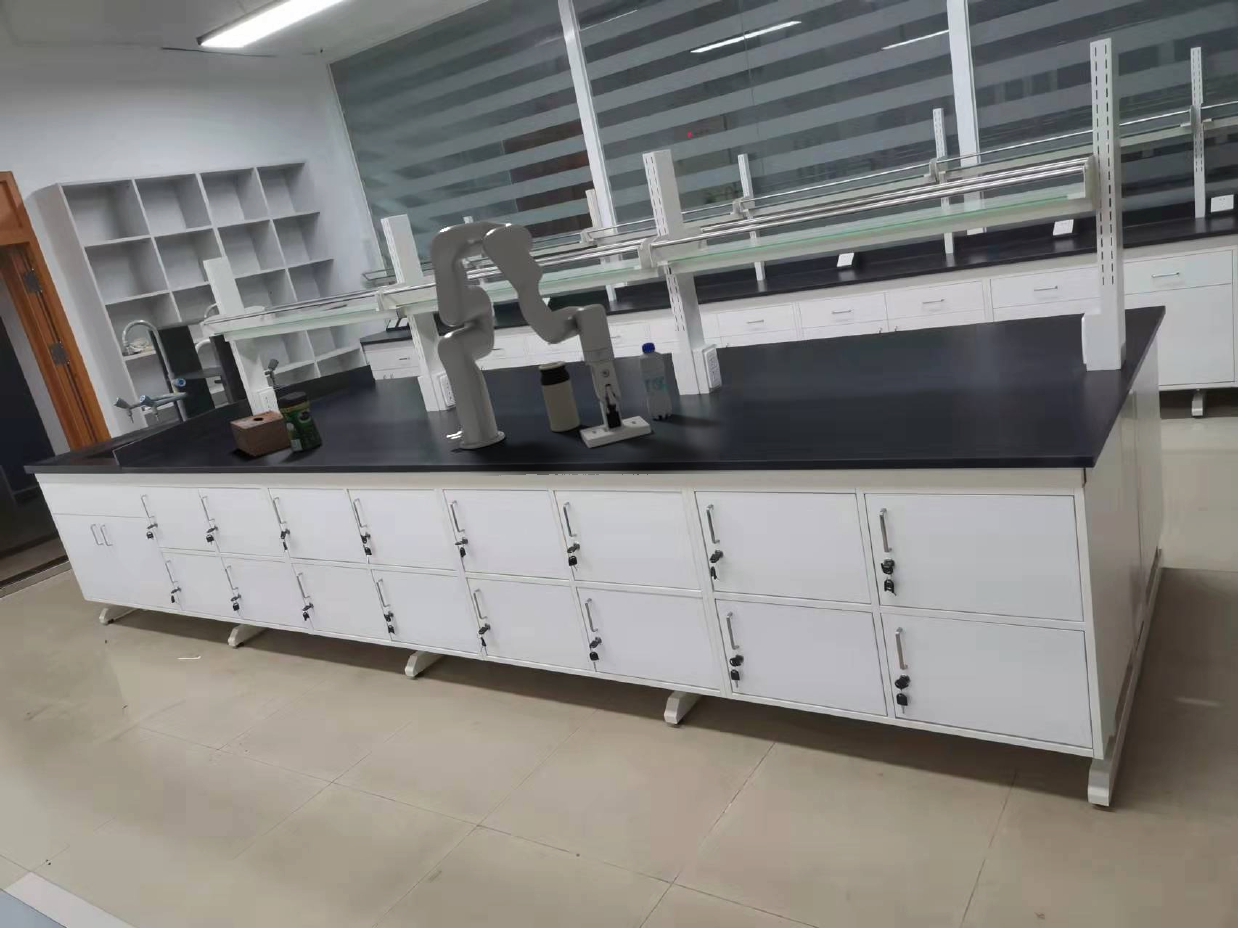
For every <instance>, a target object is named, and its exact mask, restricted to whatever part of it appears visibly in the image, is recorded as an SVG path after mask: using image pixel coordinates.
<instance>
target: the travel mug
mask: <svg viewBox="0 0 1238 928" xmlns="http://www.w3.org/2000/svg"><path fill="white" fill-rule="evenodd" d="M537 369H538V370H539V371H540V377H539V381H540V385H541V389H542V393H543V397H544V403H545V407H546V412H547V415H548V419H549V424H550V428H551V431H552V432H556V433H560V432H568V431H571V430H574V429H576V428H577V427H579V426H580V425H581V423H580V418H579V413H578V408H577V405H576V400H575V396H574V395H575V394H574V391H573V386H572V381H571V377H570V376H571V375H570V373H569V371H568V370H567V369H566V361H565V360H557V361H552V362H547V363H545V364H541V365H540V366H538V368H537Z"/></svg>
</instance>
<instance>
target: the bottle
mask: <svg viewBox="0 0 1238 928" xmlns="http://www.w3.org/2000/svg"><path fill="white" fill-rule="evenodd" d="M641 351H642V354H640V356H638V368H639V369H638V370H639V371H640V372H639V373H640V376H641V377H642V378H641V379H642V381H643V382H642V383H643V387H644V388H643V389H644V392H645V393H644V394H645V398H646V404H647V412H648V414H649V417H650V418H651V419H652V420H659V419H660V417H659V416H661V418H662V419H666V417H668V418H669V417H670V416H671V415H672V411H673V408H672V407H673V406H672V402H671V397H670V394H669V389H668V384H667V378H666V374H665V372H666V366H665V362H664V360H663V355H662V353H661V352H658V351H656V346H655V344H654V343H653V342H646V343H643V344H642V345H641Z"/></svg>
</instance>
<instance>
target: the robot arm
mask: <svg viewBox="0 0 1238 928" xmlns="http://www.w3.org/2000/svg"><path fill="white" fill-rule="evenodd" d="M533 246H534V240H533V237H532V234H531V232H530V231H529V230H528V228H526V226H525V227H524V226H523V225H521V224H518V223H513V222H511V223H509V222H501V221H500V222H499V221H492V220H476V221H471V222H467V223H466V222H465V223H464V222H463V223H460V224H455V225H451V226H447V227H446V228H443V229H441V230H439V232H437V233H436V234H435V235H434V236H433V237H432V240H431V243H430V247H429V256H430V260H431V265H432V269H433V272H434V282H435V293H436V300H437V301H436V302H437V311H438V315H439V318H440V321H441V322H442V323H443V324H444V325H445V326H448V327H454V328H455V327H459V326H462V325H464V326H463V327H462V328H458V329H455V330H452V331H449V332H447V333H446V334H445V335H443V336H442V337H441V339H439V341H438V344H437V355H438V358H439V361H440V362H441V364H442V367H443V369H444V371H445V374H446V377H447V380H448V382H449V387H450V390H451V393H452V398H453V401H454V405H455V408H456V412H457V417H458V420H459V423H460V431H458V432H457V433H455V434H450V435H446V439H447V442H448V443H457V442H459V446H460V448H461V449H464V450H470V449H471V450H473V449H479V448H484V447H486V446H491V445H493V444H496V443H498V442H500V441H502V440H503V439H504V438H505V437H506V435H505V433H504V432H503V431H500V430H498V427H497V423H496V419H495V414H494V410H493V407H492V403H491V398H490V393H489V391H488V386H487V383H486V379H485V376H484V374H483V372H482V370H481V369H480V367H479V366H478V364H477V363H476V361H478V360H481V359H483V358H485V357H487V356H489V355H490V354H491V353H492V351H493V350H494V347H495V328H494V317H493V315H494V314H493V307H492V302H491V298H490V297H489V294H488V292H486V290H485V289H484V288H482V287H481V286H479V285H477V284H469V280H468V279H469V278H468V271H467V269H466V267H465V266H464V264H463V262H462V261H461V260H464V259H467V258H472V257H476V256H481V255H486V256H487V257H488V258H489V260H490V261H491V262H492V263H493V265H495V267H496V268H497V270H498V271H499V272H500V273H501V274H502V275H503V276H504V278H505V279H506V280H507V281H508V282H509V284H510V285H511V286H512V287H513V289H514V290H515V291H516V294H517V301H518V305H519V309H520V311H521V314H522V317H523V318H524V319H525V322H526V323H527V324H528V325H529V326H530V328H531V329H532V330H533V332H534V333H536V335H537V336H538V337H539V338H540V339H542V340H543V341H544V342H546V343H548V344H553V345H556V344H559V343H562V342H564V341H567V340H569V339H572V338H574V337H577V336H579V341H580V346H581V351H582V355H583V359H584V364H585V365H586V366H587V365H588V366H589V367H590V373H591V377H592V381H593V387H594V390H595V394H596V397H597V398H598V399H599V400H600V402H601V401H603V402H604V403H605V407H606V412H607V413H606V417H607V422H608V427H609V429H612V428H616V427H620V426H621V421H620V416H619V411H618V408H617V404H616V400H617V399H619V400H620V399H621V398H622V395H621V390H620V386H619V383H618V378H617V373H616V370H615V366H614V363H613V360H614V359H616V357H615V353H614V352H615V351H614V347H613V342H612V338H611V337H612V336H611V333H610V327H609V323H608V318H607V314H606V309H605V306H603V304H601V303H594V304H588V305H584V306H573V305H572V306H566V307H563V308H560V309H557V310H554V311H552V309H551V308H550V307H549V306H548V305H547V304H546V302H545V301H544V300H543V297H542V296H541V294H540V290H539V286H540V285H539V284H540V282H541V280H542V278H543V276H544V270H543V268H542V266H541V265H540V264H539V263H538V262H537V261H536V260H535V258H534V257H533V256H532V255H531V254H530V253H531V251H532V250H533ZM616 398H617V399H616ZM615 399H616V400H615ZM606 400H609V401H606ZM607 403H609V404H607Z"/></svg>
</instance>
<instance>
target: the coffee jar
mask: <svg viewBox="0 0 1238 928" xmlns="http://www.w3.org/2000/svg"><path fill="white" fill-rule="evenodd" d="M276 404H277V408H278V409H277V410H278V411H279V412H278V413H280V414H282V416H283V418H284V421H285V425H286V428H287V433H288V437H289V442H290V446H289V447H290V449H291V451H292V452H295V453H300V452H304V451H309V450H312V449H314V448H316V447H318V446H321V444H322V443H323V440H322V437H321V434H320V432H319V430H318V428H317V425H316V422H315V419H314V418H313V415H312V412H311V409H310V399H309V398H308V396H307V394H306V392H305V391H295V392H291V393H288V394H286V395H283V396H282V397H278V398H277V399H276Z"/></svg>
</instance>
